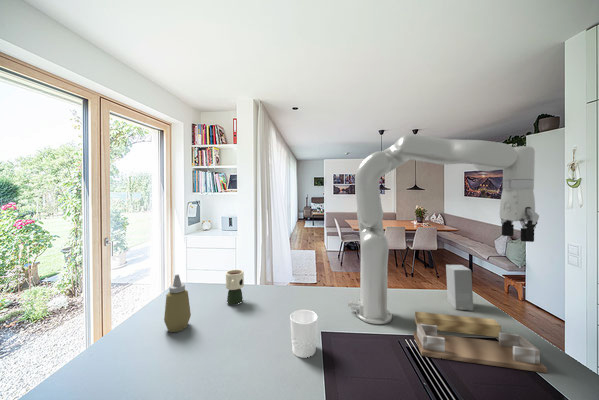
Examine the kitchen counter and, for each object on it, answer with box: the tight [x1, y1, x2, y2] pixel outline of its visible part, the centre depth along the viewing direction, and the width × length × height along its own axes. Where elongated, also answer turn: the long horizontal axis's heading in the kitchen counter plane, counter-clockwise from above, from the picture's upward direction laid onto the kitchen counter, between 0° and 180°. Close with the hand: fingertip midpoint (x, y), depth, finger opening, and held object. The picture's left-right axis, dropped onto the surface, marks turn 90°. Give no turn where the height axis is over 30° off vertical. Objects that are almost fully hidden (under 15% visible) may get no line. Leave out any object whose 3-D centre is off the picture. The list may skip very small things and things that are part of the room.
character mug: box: [225, 269, 245, 305], centre depth 100 cm, size 11×7×13 cm, turn 6°
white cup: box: [289, 309, 319, 359], centre depth 70 cm, size 8×8×10 cm
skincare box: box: [445, 264, 474, 311], centre depth 97 cm, size 8×7×16 cm
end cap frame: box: [412, 323, 548, 374], centre depth 69 cm, size 29×10×5 cm, turn 77°
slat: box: [414, 311, 502, 338], centre depth 81 cm, size 24×4×4 cm, turn 77°
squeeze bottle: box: [163, 273, 192, 333], centre depth 82 cm, size 8×8×18 cm
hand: (516, 238), depth 79 cm, fingers open, 9 cm apart
